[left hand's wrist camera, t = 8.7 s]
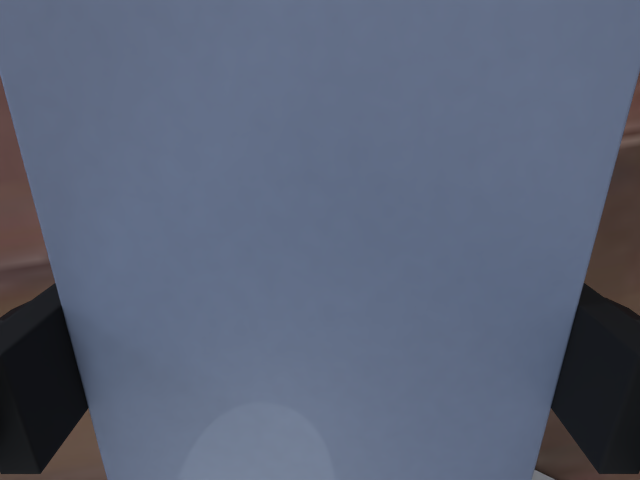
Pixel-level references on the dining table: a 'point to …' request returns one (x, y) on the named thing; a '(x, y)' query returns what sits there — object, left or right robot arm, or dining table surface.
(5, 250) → the dining table surface
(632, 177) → the dining table surface
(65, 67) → the cabinet
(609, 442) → the left robot arm
